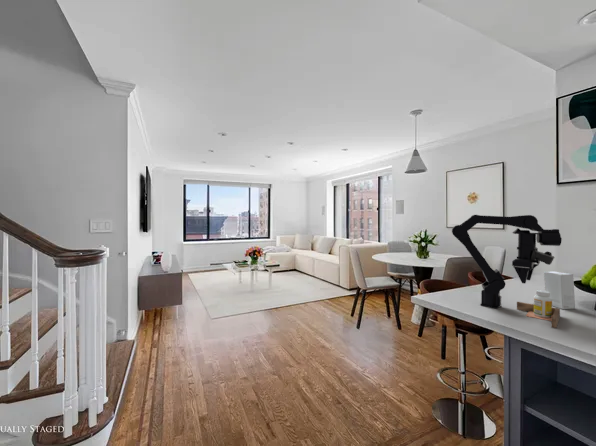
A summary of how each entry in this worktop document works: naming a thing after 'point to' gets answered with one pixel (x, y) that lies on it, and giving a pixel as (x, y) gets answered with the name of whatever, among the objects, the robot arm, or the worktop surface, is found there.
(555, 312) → the walnut corner walls
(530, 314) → the terracotta mat
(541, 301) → the supplement bottle
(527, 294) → the worktop surface
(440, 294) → the worktop surface
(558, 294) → the skincare box
